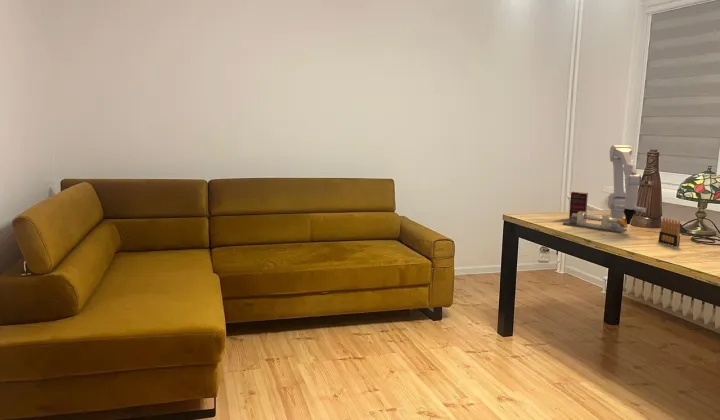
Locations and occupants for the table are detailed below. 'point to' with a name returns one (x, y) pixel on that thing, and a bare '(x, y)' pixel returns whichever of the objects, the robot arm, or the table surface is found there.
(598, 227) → the plate
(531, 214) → the table surface
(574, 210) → the supplement box
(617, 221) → the shaft
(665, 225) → the ammunition clip
